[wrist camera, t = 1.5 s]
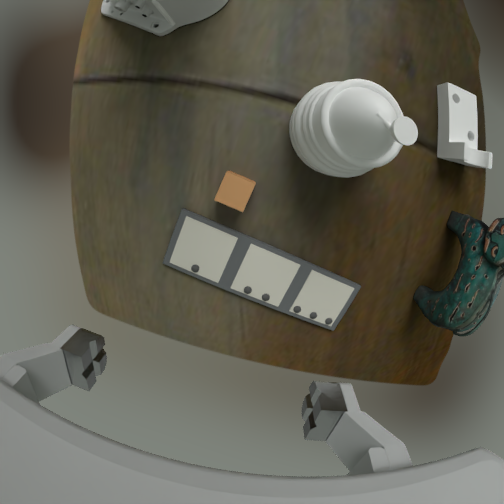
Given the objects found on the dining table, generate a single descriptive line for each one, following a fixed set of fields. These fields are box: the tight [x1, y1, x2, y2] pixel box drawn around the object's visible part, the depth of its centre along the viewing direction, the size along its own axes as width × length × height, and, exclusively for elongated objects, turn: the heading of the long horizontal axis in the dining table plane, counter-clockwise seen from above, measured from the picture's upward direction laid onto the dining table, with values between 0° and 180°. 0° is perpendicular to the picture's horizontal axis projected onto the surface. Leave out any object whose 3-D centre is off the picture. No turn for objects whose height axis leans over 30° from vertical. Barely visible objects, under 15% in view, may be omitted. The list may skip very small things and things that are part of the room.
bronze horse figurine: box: [413, 211, 504, 336], centre depth 33 cm, size 20×6×20 cm, turn 159°
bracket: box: [437, 82, 492, 169], centre depth 32 cm, size 13×7×8 cm, turn 177°
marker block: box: [214, 171, 256, 212], centre depth 37 cm, size 4×4×4 cm
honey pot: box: [289, 79, 418, 178], centre depth 28 cm, size 13×13×18 cm
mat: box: [163, 208, 361, 331], centre depth 42 cm, size 30×9×1 cm, turn 66°
